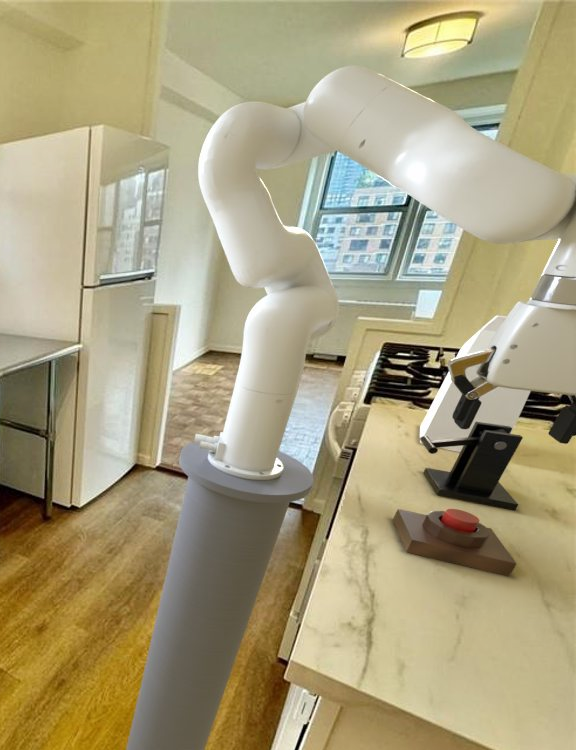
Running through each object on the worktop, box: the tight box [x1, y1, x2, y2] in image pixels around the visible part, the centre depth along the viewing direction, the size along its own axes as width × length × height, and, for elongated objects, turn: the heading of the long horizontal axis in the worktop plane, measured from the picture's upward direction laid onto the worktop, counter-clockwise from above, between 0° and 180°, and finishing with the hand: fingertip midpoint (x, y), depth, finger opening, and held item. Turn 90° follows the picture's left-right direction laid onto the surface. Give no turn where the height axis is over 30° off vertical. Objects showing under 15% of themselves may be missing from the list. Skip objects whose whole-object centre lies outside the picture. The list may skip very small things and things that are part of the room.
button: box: [440, 508, 480, 533], centre depth 68 cm, size 4×4×2 cm
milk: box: [419, 315, 532, 453], centre depth 96 cm, size 12×12×26 cm
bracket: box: [422, 422, 524, 511], centre depth 82 cm, size 10×9×12 cm
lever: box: [419, 429, 506, 455], centre depth 82 cm, size 10×6×2 cm, turn 62°
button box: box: [392, 508, 518, 577], centre depth 69 cm, size 11×9×4 cm
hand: (507, 432), depth 62 cm, fingers open, 8 cm apart
